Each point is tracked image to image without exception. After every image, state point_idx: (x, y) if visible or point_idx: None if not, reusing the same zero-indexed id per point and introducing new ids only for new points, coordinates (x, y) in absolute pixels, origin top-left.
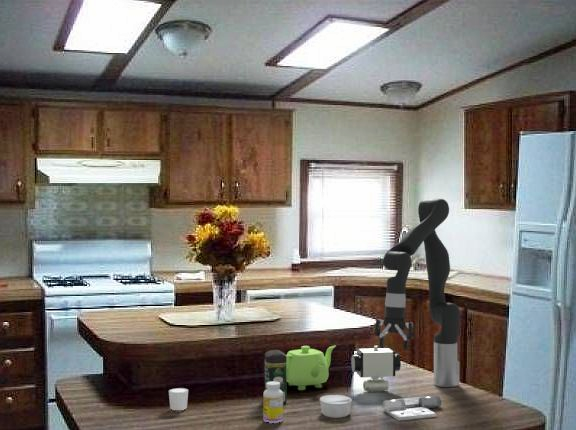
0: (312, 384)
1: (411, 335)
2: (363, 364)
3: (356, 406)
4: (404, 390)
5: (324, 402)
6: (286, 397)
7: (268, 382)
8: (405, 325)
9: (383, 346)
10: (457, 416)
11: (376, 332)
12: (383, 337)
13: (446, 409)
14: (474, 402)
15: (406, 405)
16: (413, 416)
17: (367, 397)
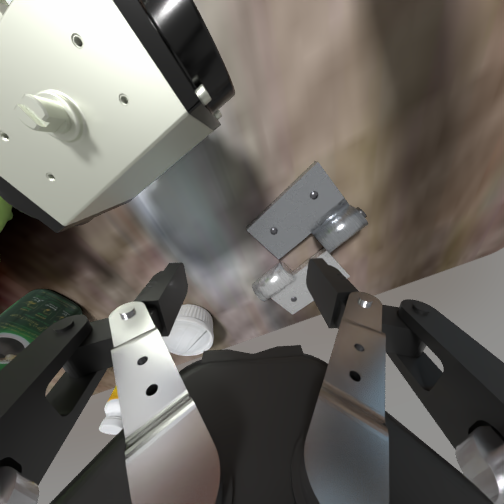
0: (11, 209)
1: (425, 370)
2: (108, 208)
3: (198, 275)
4: (239, 70)
5: (179, 354)
6: (75, 313)
7: (102, 430)
8: (468, 493)
9: (183, 282)
10: (385, 253)
11: (80, 385)
12: (157, 323)
13: (368, 219)
14: (450, 122)
15: (289, 250)
16: (312, 299)
17: (182, 208)
